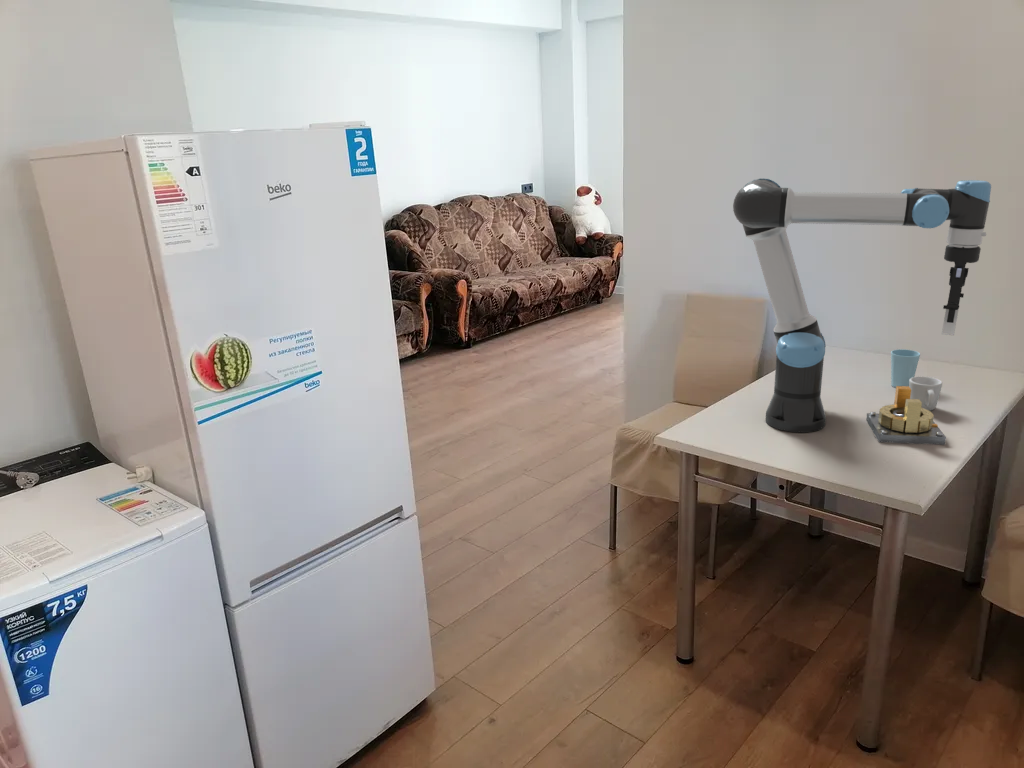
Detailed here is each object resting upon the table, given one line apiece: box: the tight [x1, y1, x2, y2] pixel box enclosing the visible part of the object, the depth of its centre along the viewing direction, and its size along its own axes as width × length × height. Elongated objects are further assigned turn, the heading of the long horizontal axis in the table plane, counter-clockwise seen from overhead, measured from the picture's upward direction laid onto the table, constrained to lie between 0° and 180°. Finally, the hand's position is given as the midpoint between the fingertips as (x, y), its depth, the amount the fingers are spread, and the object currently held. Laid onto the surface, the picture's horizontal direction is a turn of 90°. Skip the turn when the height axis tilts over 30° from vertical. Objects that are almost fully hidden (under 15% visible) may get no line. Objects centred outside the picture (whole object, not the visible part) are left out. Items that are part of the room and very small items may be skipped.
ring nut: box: [878, 386, 935, 433], centre depth 193 cm, size 12×12×8 cm
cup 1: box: [890, 348, 921, 389], centre depth 225 cm, size 8×8×10 cm
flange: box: [865, 410, 947, 446], centre depth 194 cm, size 15×15×5 cm
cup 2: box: [909, 375, 943, 411], centre depth 207 cm, size 11×8×8 cm
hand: (948, 328), depth 195 cm, fingers open, 13 cm apart
